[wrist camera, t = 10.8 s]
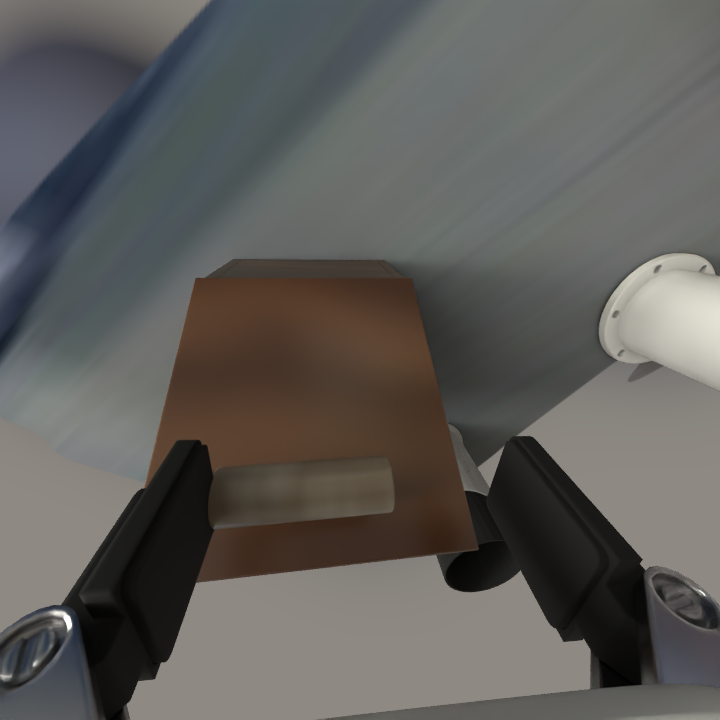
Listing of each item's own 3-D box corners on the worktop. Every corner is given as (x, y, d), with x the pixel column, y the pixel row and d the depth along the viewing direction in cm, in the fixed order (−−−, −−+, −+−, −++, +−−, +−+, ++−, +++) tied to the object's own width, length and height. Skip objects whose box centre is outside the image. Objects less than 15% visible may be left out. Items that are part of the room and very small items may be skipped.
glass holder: (436, 480, 43) (489, 602, 30) (348, 448, 39) (365, 575, 25) (475, 435, 41) (553, 548, 27) (386, 394, 36) (427, 506, 23)
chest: (376, 392, 36) (393, 445, 28) (253, 398, 34) (235, 455, 26) (383, 260, 29) (408, 280, 21) (232, 259, 27) (199, 280, 20)
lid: (472, 550, 13) (543, 550, 9) (129, 589, 12) (9, 613, 7) (409, 286, 21) (430, 216, 17) (199, 286, 20) (162, 210, 15)
